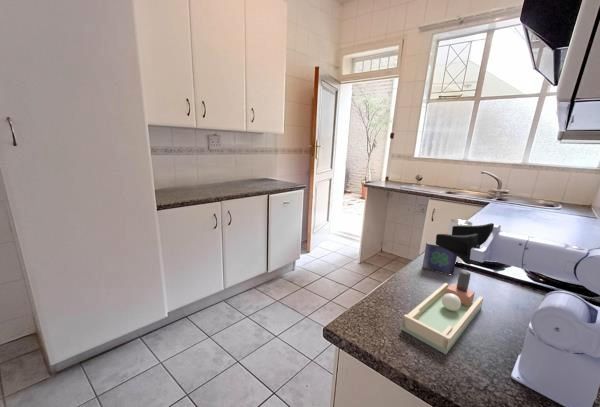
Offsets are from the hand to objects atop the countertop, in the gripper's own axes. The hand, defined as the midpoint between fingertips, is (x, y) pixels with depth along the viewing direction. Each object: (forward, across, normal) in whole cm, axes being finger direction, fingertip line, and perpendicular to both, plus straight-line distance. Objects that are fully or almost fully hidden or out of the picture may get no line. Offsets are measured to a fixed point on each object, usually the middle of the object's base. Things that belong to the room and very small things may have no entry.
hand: (445, 234), depth 57 cm
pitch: (0, -3, +21) cm, 21 cm away
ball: (0, -6, +18) cm, 19 cm away
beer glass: (+12, -39, +23) cm, 47 cm away
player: (0, -12, +20) cm, 24 cm away
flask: (+12, -27, +22) cm, 37 cm away
